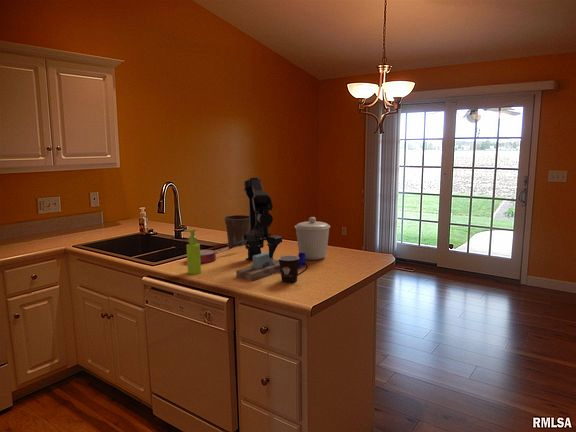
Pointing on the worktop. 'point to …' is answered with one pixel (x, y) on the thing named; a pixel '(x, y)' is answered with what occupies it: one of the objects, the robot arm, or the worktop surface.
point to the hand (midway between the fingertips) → (263, 256)
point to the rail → (258, 271)
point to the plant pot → (236, 228)
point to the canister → (312, 238)
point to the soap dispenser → (193, 254)
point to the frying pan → (213, 253)
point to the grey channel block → (262, 260)
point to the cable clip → (302, 259)
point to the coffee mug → (289, 268)
